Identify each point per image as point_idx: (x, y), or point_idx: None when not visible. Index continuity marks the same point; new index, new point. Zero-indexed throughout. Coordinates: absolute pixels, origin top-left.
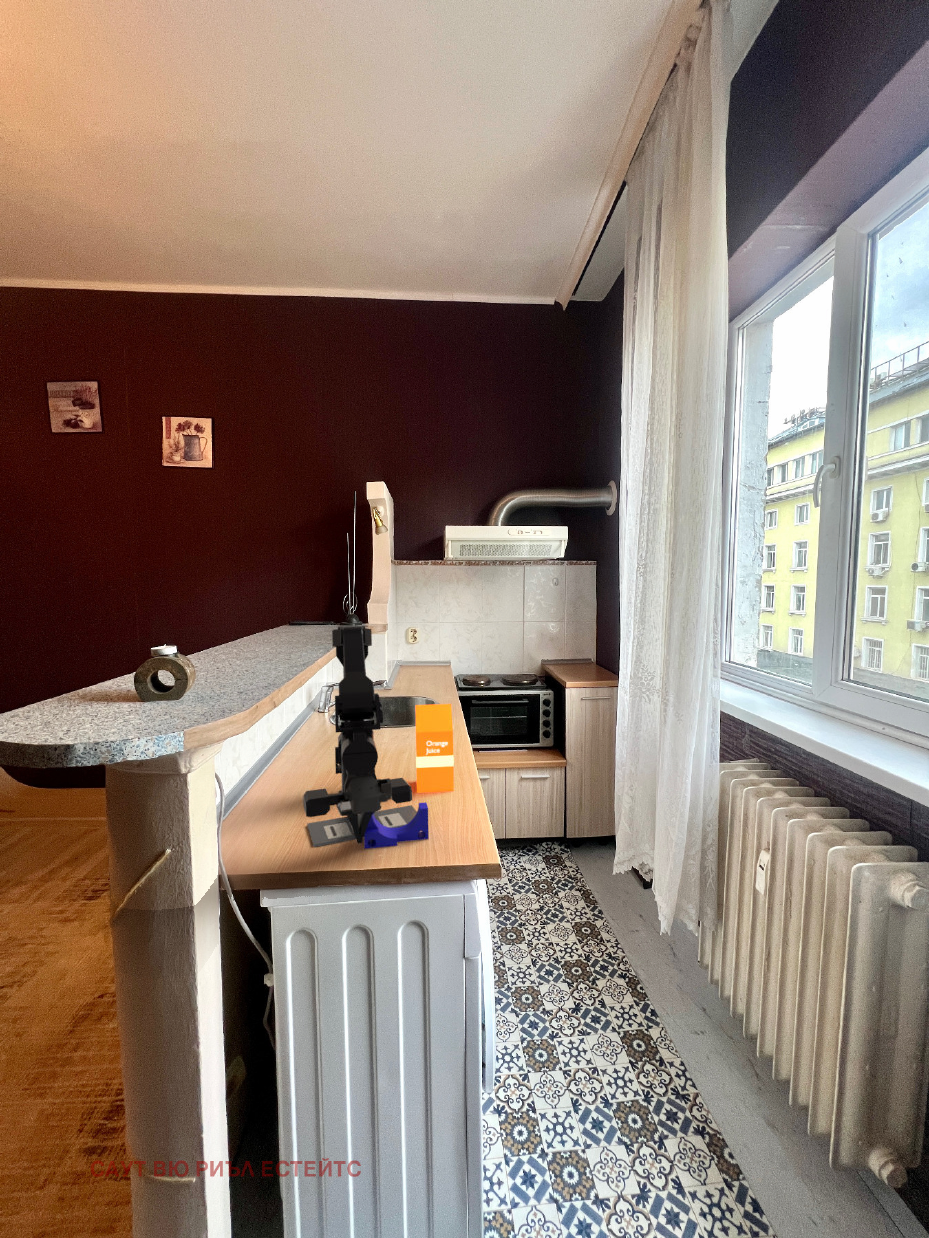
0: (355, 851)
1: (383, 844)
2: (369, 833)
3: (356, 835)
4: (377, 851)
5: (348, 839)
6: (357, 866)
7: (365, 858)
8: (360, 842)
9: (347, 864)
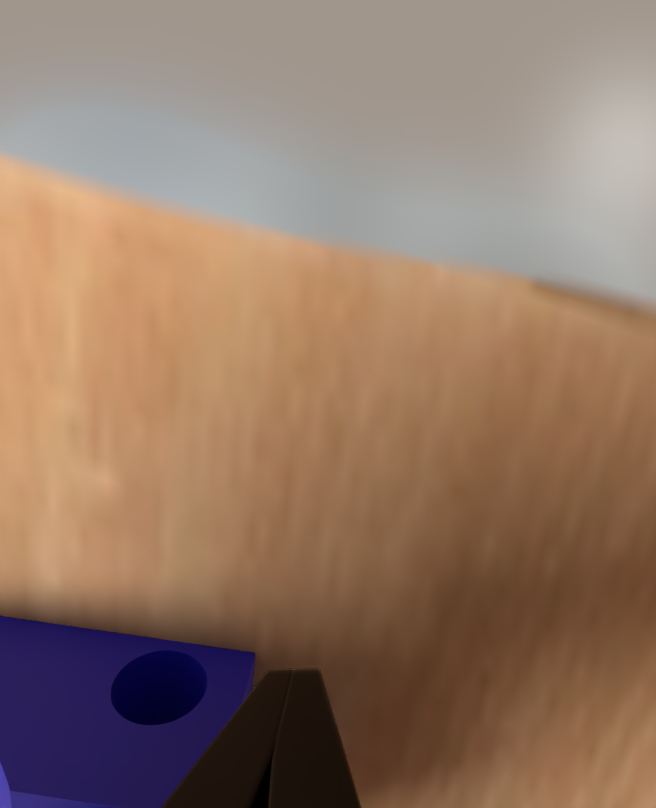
0: (348, 633)
1: (51, 643)
2: (140, 799)
3: (325, 767)
4: (126, 562)
5: None
6: (364, 314)
7: (258, 463)
8: (281, 676)
9: (470, 398)
